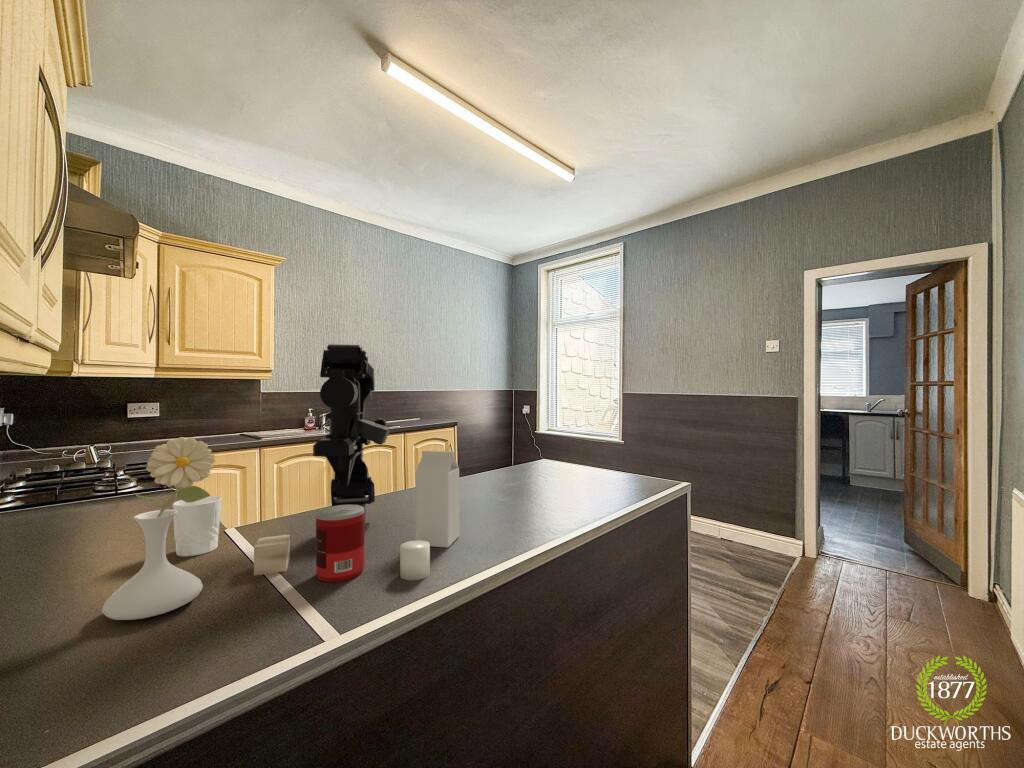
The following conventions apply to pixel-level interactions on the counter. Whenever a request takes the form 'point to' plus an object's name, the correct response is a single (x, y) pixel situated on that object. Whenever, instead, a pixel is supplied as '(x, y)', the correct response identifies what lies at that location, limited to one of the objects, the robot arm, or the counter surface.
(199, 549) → the white cup
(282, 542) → the birch block
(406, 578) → the off-white smooth rounded part
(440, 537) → the milk carton
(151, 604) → the flower in vase
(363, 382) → the robot arm
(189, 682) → the counter surface
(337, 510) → the canned food
